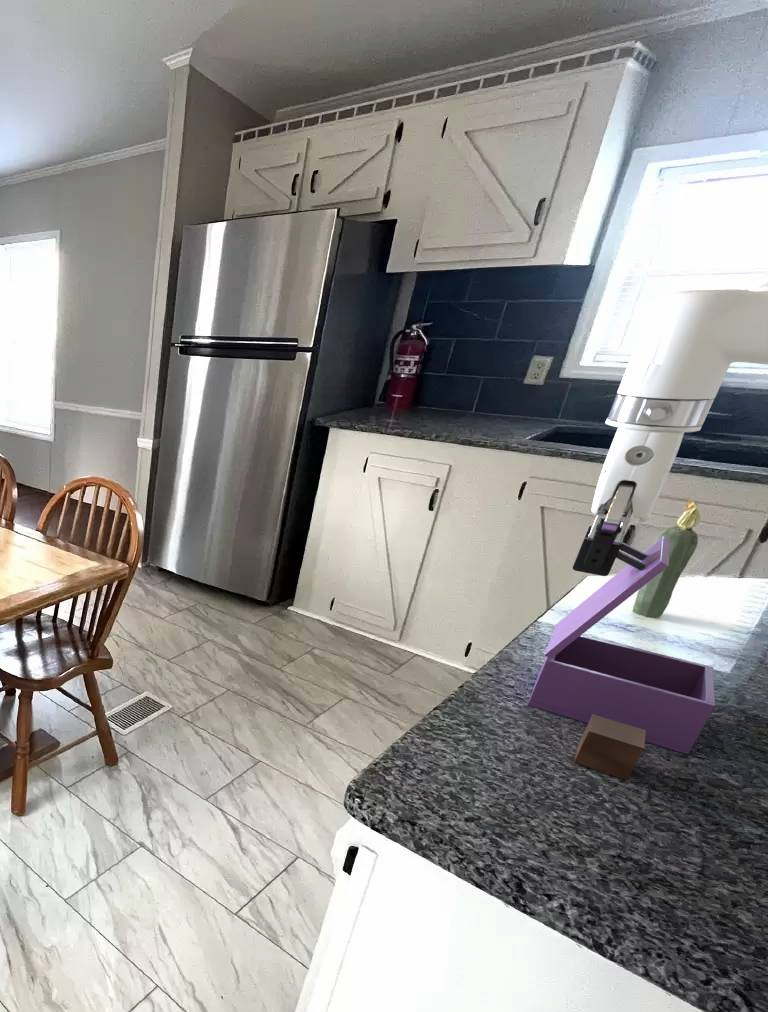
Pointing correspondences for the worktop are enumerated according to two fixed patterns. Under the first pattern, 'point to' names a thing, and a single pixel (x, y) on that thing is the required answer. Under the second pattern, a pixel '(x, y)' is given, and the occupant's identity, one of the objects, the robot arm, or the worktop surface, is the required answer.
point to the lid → (611, 593)
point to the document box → (628, 690)
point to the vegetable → (670, 565)
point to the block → (610, 747)
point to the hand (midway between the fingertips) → (592, 564)
